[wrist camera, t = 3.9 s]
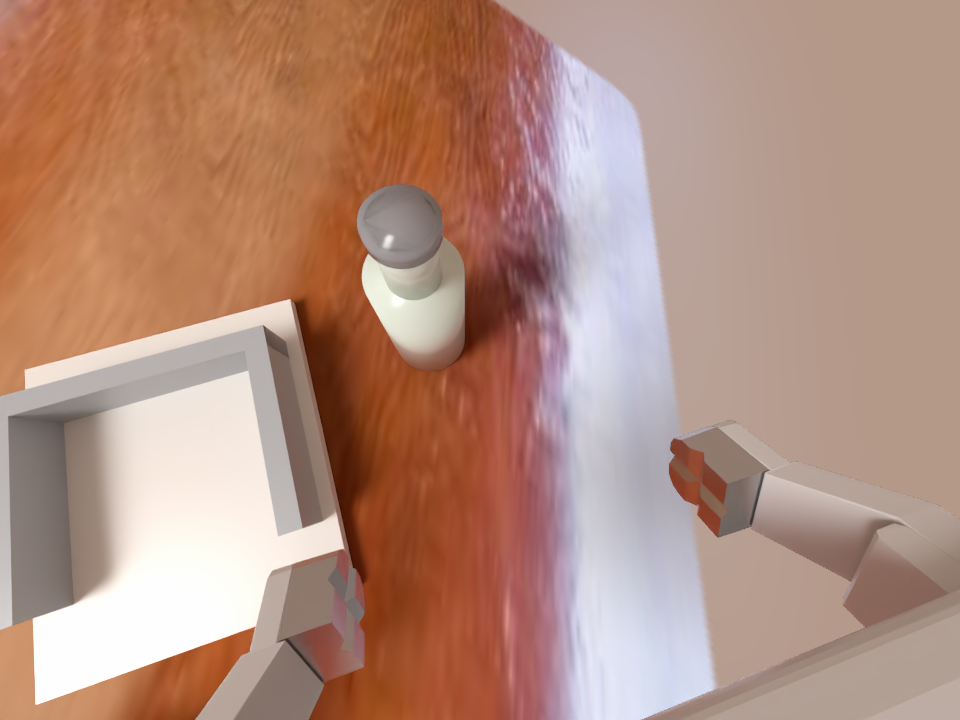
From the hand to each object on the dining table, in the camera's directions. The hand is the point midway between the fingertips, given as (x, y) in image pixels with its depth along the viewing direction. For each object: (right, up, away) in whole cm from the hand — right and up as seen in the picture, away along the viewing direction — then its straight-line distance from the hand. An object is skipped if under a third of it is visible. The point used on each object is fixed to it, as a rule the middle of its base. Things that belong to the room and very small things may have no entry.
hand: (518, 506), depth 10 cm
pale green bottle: (-4, +5, +17) cm, 18 cm away
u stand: (-18, -3, +14) cm, 23 cm away
